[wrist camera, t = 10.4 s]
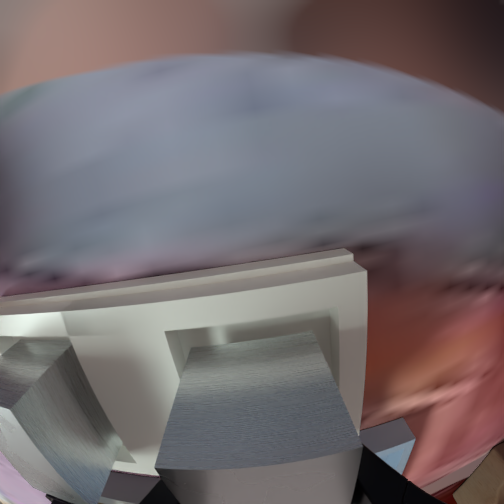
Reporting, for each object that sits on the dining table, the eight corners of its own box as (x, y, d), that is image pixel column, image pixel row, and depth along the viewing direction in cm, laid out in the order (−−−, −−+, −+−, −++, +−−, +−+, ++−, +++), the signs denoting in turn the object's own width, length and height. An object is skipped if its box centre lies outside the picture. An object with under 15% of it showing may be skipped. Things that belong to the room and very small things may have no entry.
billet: (317, 443, 10) (341, 536, 5) (226, 455, 10) (222, 549, 5) (312, 330, 9) (362, 446, 4) (190, 347, 9) (154, 467, 4)
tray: (378, 493, 15) (384, 509, 13) (214, 518, 15) (212, 536, 13) (402, 417, 13) (415, 438, 11) (171, 453, 13) (165, 477, 11)
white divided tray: (344, 430, 13) (355, 459, 10) (69, 436, 13) (56, 458, 11) (344, 247, 10) (366, 262, 8) (0, 296, 11) (-25, 311, 9)
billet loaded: (124, 437, 11) (95, 510, 6) (68, 428, 11) (33, 487, 7) (75, 339, 10) (10, 409, 5) (20, 339, 10) (-40, 391, 5)
